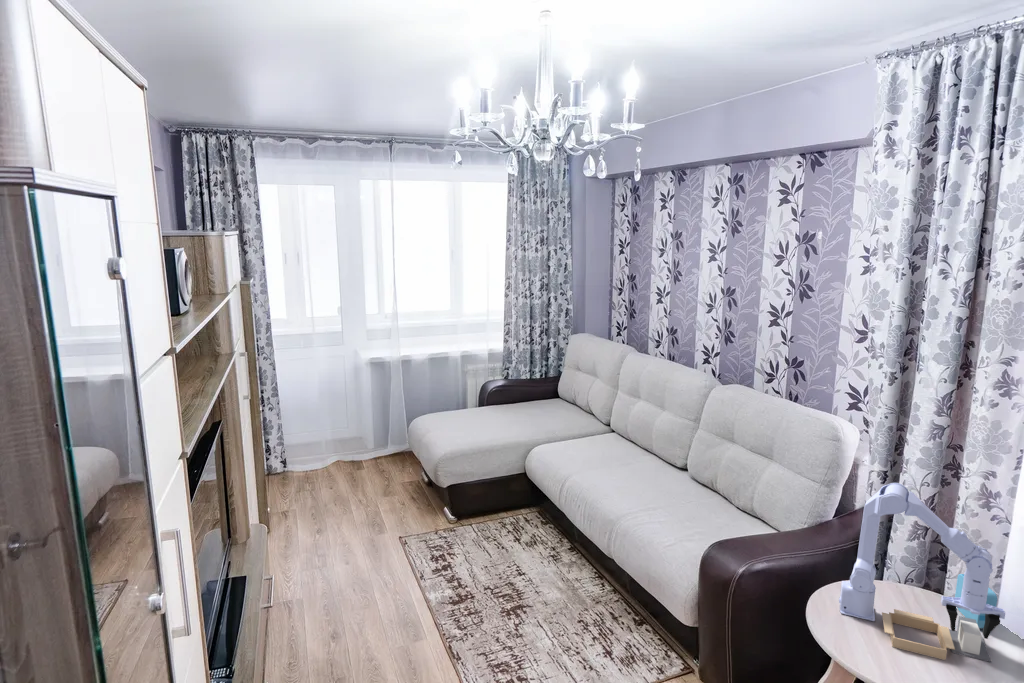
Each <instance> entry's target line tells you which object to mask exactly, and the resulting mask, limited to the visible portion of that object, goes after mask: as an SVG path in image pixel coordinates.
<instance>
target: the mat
mask: <svg viewBox="0 0 1024 683" xmlns="http://www.w3.org/2000/svg"><path fill="white" fill-rule="evenodd" d="M949 631H950V635H951V638H952V641H953V644H954V648H955V650H954V649H950V651H951V653H952V654H957V655H961V656H965V657H968V658H972V659H977V660H981V661H985V662H989V663H991V662H992V659H991V656H990V654H989V652H988V649H987V646H986V644H985V640H984V639H983V638H984V637H982V640H981V647H980V653H979V655H977V654H973V653H968V652H964V651H962V650H961V646H960V643H959V640H958V637H957V630H955V631H952V630H951V628H950V629H949Z"/></svg>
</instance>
